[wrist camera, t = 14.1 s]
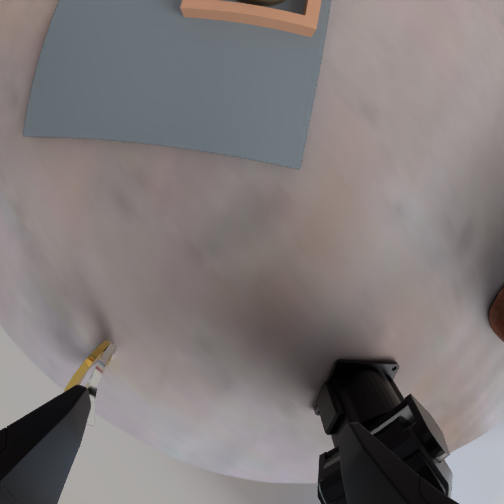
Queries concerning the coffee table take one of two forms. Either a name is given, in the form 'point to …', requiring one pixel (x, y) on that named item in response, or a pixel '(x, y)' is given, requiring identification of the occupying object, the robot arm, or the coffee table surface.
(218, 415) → the coffee table surface
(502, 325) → the wooden figurine
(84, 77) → the board
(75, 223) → the coffee table surface
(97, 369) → the ring
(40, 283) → the coffee table surface
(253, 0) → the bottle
